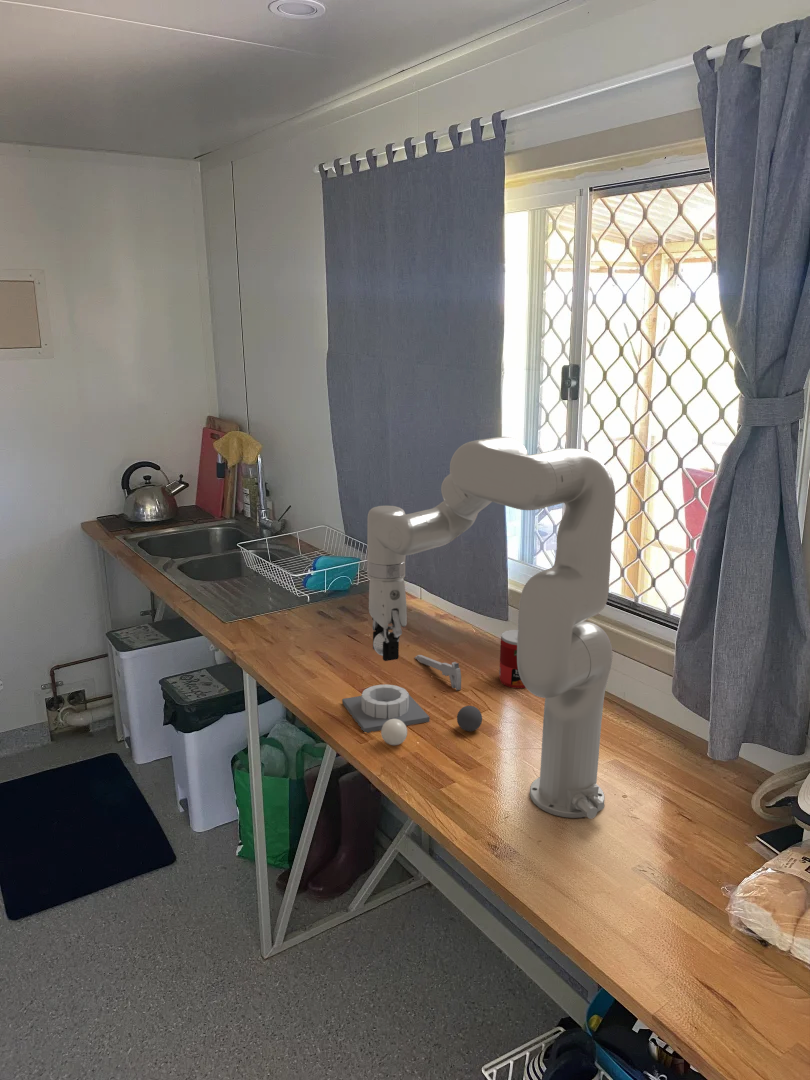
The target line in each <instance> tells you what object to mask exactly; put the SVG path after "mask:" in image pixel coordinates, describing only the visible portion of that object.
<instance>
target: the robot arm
mask: <svg viewBox="0 0 810 1080" xmlns="http://www.w3.org/2000/svg"><path fill="white" fill-rule="evenodd" d="M612 477H613V476H612V474H611V473H610V472H609V469H608V468H607V466H606V465H605V464H604V462H603V461H601V460H600V459H599V458H598V457H597V456H596V455H594V454H592V453H591V452H589V451H586V450H584V449H579V448H559V449H554V450H548V451H543V452H539V453H537V452H536V453H533V454H529V452H528V450H527V448H526V446H524V444H522V443H521V442H520V441H519V440H517V439H516V438H512V437H509V436H496V437H495V436H494V437H489V438H481V439H475V440H472V441H468V442H465V443H464V444H461V445H460V446H459V447H458V448H457V449H456V450H455V451H454V453H453V454H452V457H451V459H450V462H449V474H447V475H446V476H445V477H444V479H443V481H442V482H441V486H440V488H441V490H440V491H441V496H442V499H443V501H441V502H439V504H437V505H435V506H434V507H432V508H429V509H424V510H419V511H416V512H415V511H414V512H412V513H407V514H406V512H405V510H404V509H403V508H401V507H399V506H395V505H378V506H374V507H372V508H371V509H369V510H368V514H367V528H366V529H367V539H366V540H367V546H366V547H367V555H366V556H367V557H366V559H367V560H366V561H367V569H366V571H367V573H366V574H367V578H368V579H369V583H368V584H369V586H368V612H369V615H370V616H371V618H372V619H371V620H372V642H373V641H374V638H375V637H376V635H377V634H379V633H380V632H384V639H385V641H384V642H383V656H382V660H383V661H384V662H388V661H394V660H396V661H397V660H398V659H399V658H400V657H399V655H400V653H399V651H400V650H399V649H400V643H399V642H400V636H401V635H402V634H403V631H402V628H405V627H406V626H407V623H408V622H407V621H408V620H407V619H408V617H407V595H406V585H405V580H404V578H405V577H406V556H410V555H415V554H418V553H422V552H425V551H428V550H432V549H436V548H440V547H443V546H445V545H448V544H449V543H451V542H453V541H454V540H455V539H457V538H458V537H459V536H460V535H462V534H463V533H465V532H466V531H467V530H469V529H470V528H471V527H472V526H473V525H474V524H475V521H476V519H477V517H478V514H479V512H481V511H482V510H484V509H485V508H486V507H488V505H490V504H491V503H495V504H498V505H501V506H502V505H503V506H506V507H507V508H508V507H509V508H512V509H516V510H521V511H537V510H541V509H545V508H550V507H552V506H556V505H560V504H565V510H564V513H563V516H562V517H561V520H560V522H559V526H558V529H557V533H556V534H557V535H556V549H555V552H556V553H555V558H554V564H553V565H552V567H550V568H548V569H545V570H542V571H539V572H538V573H536V574H534V575H532V577H530V578H529V579H528V580H527V582H526V583H525V584H524V586H523V589H522V591H521V593H520V597H519V601H518V615H517V616H518V619H517V621H518V622H517V630H518V639H517V666H518V672H519V675H520V678H521V681H522V682H523V684H524V686H525V687H526V688H525V689H526V690H527V691H528V692H530V693H531V694H532V695H534V696H536V697H539V698H543V699H544V709H543V718H542V719H543V721H542V724H543V725H542V735H541V736H542V738H541V739H542V740H541V757H540V769H539V770H540V772H539V777H537V778H536V779H535V780H533V782H532V783H531V784H530V787H529V797H530V799H531V800H532V801H531V802H533V804H534V805H535V806H537V807H538V808H539V809H540V810H542V811H544V812H546V813H548V814H550V815H553V816H556V817H561V818H568V819H579V818H580V819H581V818H588V819H591V820H592V819H594V818H595V817H596V816H597V815H598V813H599V812H600V811H602V810H604V808H605V799H606V798H605V792H604V790H603V789H602V788H601V786H599V785H598V784H597V781H598V769H599V759H600V757H599V756H600V743H601V731H602V720H603V709H604V699H605V695H606V694H605V693H606V689H607V684H608V680H609V677H610V672H611V668H612V663H613V647H612V646H613V645H612V643H611V639H610V638H609V635H608V633H606V631H605V630H604V629H603V628H602V627H600V626H599V625H597V624H595V623H593V622H590V621H587V620H588V619H590V618H593V617H594V616H596V615H598V614H599V613H600V612H602V611H603V610H604V608H605V607H606V605H607V602H608V599H609V591H610V588H609V587H610V575H611V561H612V560H611V558H612V537H613V534H612V533H613V526H614V519H615V511H616V489H615V485H614V479H613V478H612ZM390 624H392V625H390ZM390 630H392V631H391V632H390ZM388 632H390V634H388ZM372 649H373V650H374V651H375V649H374V646H373V645H372Z"/></svg>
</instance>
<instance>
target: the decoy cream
mask: <svg viewBox="0 0 810 1080" xmlns="http://www.w3.org/2000/svg"><path fill="white" fill-rule="evenodd" d="M380 736H381V738H382V740H383V741H384V742H385V743H386V744H387V745H390V746H398V745H401V744H403V742H405V741H406V739H407V736H408V728H407V726H406V725H405V724H404V723H403V722H402V721H401V720H399V719H390V720H388V721H386V722H385V723H384V724H383V726H382V729H381V730H380Z"/></svg>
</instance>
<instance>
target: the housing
mask: <svg viewBox="0 0 810 1080" xmlns="http://www.w3.org/2000/svg"><path fill="white" fill-rule="evenodd" d="M341 700H342V704H343V706H344V707H345V708H346V710H347V712H348V713H349V715H350V716H351V715H352V716H351V717H352V719H353V720H354V719H355V720H354V721H355V723H356V722H357V723H358V724H357V723H356V724H357V726H358V727H359V726H360V727H361V728H360V727H359V728H360V730H361V731H362V730H363V731H364V732H367V733H371V731H373V732H378V731H381V729H382V726H383V724H384V723H385V722H386V721H388V720H390V719H399V720H401V721H402V722H403V723H404V724H405V725H406V727H407V726H413V725H418V724H423V723H430V715H429V714H428V713H426V711H425V710H424V709H423V708H422V707H421V706H420V705H419V704H418V702H416V701H415V699H414V698H413V697H412V696H411V695H410V693H409V692H408V691H407V689H405V688H404V687H401V686H398V685H394V684H377V685H372V686H369V687H367V688H365V689H364V690H363V691H362V693H361V695H358V696H351V697H346V698H342V699H341ZM363 731H362V732H363ZM364 732H363V733H364Z"/></svg>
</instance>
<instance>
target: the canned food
mask: <svg viewBox="0 0 810 1080" xmlns="http://www.w3.org/2000/svg"><path fill="white" fill-rule="evenodd" d="M517 639H518V629H509V630H505V631H503V632H502V633H501V635H500V647H499V648H500V651H499V654H500V655H499V671H498V673H499V675H498V677H499V680H500V683H501V684H502V685H503V686H505V687H508V688H512V689H527V688H526V687H525V686H524V684H523V682H522V681H521V678H520V675H519V672H518V666H517Z"/></svg>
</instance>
